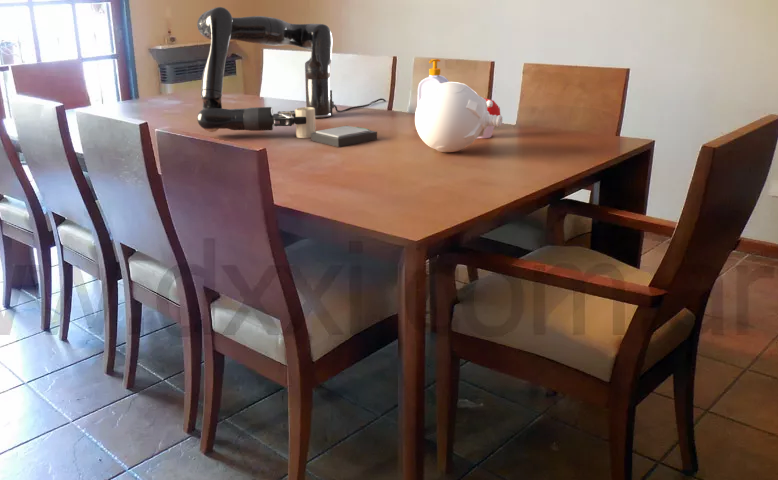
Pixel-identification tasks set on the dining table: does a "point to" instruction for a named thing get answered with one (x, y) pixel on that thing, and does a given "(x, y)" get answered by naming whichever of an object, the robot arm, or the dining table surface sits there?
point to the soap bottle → (430, 80)
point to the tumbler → (309, 127)
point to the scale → (343, 136)
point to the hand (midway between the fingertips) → (307, 117)
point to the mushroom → (492, 110)
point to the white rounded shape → (452, 117)
